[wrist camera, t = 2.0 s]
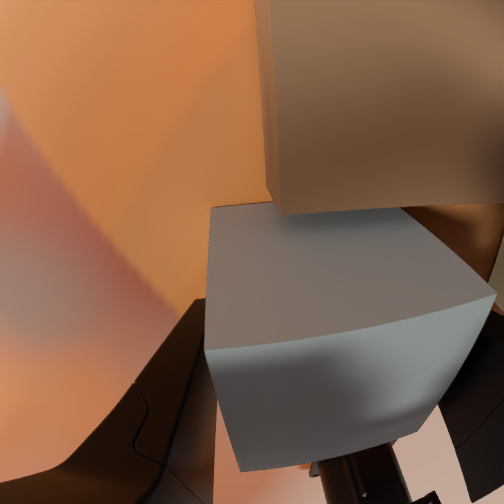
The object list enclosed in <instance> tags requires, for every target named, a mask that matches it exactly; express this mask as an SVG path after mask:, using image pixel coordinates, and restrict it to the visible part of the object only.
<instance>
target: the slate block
mask: <svg viewBox="0 0 504 504" xmlns="http://www.w3.org/2000/svg"><path fill="white" fill-rule="evenodd" d="M496 296H497V292H496V291H495V290H494V289H493V288H492V287H491V286H490V285H489V284H488V283H486V282H485V281H484V280H483V279H482V278H481V277H480V276H479V275H478V274H477V273H476V272H475V271H474V270H473V269H472V268H471V267H470V266H469V265H468V264H466V263H465V262H464V261H463V260H462V259H461V258H460V257H459V256H458V255H457V254H455V253H454V252H453V251H452V250H451V249H450V248H449V247H447V246H446V245H445V244H444V243H443V242H442V241H440V240H439V239H438V238H437V237H436V236H434V235H433V234H432V233H431V232H430V231H428V230H427V229H426V228H425V227H424V226H422V225H421V224H420V223H419V222H417V221H416V220H415V219H414V218H412V217H411V216H410V215H408V214H407V213H406V212H405V211H403V210H402V209H401V208H399V207H392V208H375V209H360V210H346V211H332V212H319V213H307V214H295V215H284V216H281V215H280V213H279V211H278V209H277V207H276V205H275V203H274V202H267V203H256V204H245V205H235V206H225V207H216V208H211V215H210V230H209V246H208V264H207V284H206V308H205V340H204V351H205V355H206V359H207V363H208V367H209V370H210V374H211V378H212V381H213V385H214V388H215V392H216V395H217V399H218V402H219V406H220V409H221V413H222V416H223V419H224V422H225V426H226V429H227V432H228V435H229V438H230V442H231V445H232V448H233V451H234V454H235V457H236V460H237V463H238V466H239V469H240V472H247V471H258V470H266V469H274V468H281V467H287V466H294V465H300V464H305V463H310V462H315V461H320V460H325V459H329V458H334V457H338V456H342V455H346V454H350V453H353V452H357V451H361V450H364V449H368V448H371V447H374V446H377V445H381V444H384V443H387V442H390V441H393V440H395V439H398V438H401V437H404V436H407V435H409V434H412V433H414V432H417V431H418V430H419V429H420V427H421V426H422V424H423V423H424V422H425V421H426V419H427V418H428V416H429V415H430V414H431V412H432V411H433V409H434V408H435V407H436V405H437V404H438V403H439V401H440V400H441V398H442V397H443V395H444V394H445V392H446V391H447V389H448V388H449V386H450V384H451V383H452V381H453V380H454V378H455V376H456V375H457V373H458V371H459V370H460V368H461V366H462V365H463V363H464V361H465V359H466V358H467V356H468V354H469V352H470V350H471V349H472V347H473V345H474V343H475V341H476V339H477V337H478V335H479V333H480V331H481V329H482V327H483V325H484V323H485V321H486V319H487V316H488V314H489V312H490V310H491V308H492V305H493V303H494V301H495V298H496Z"/></svg>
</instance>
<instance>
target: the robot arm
mask: <svg viewBox="0 0 504 504" xmlns="http://www.w3.org/2000/svg"><path fill="white" fill-rule="evenodd" d="M205 308H206V298H201V299H196V300H194V302H193V303H192V304H191V306H190V307H189V308H188V310H187V311H186V312H185V314H184V315H183V316H182V318H181V319H180V320H179V322H178V323H177V324H176V326H175V327H174V328H173V330H172V331H171V332H170V334H169V335H168V336H167V338H166V339H165V341H164V342H163V343H162V344H161V346H160V347H159V348H158V350H157V351H156V352H155V354H154V355H153V357H152V358H151V359H150V361H149V362H148V363H147V365H146V366H145V367H144V369H143V370H142V372H141V373H140V374H139V376H138V377H137V378H136V380H135V383H133V384H132V385H131V386H130V388H129V389H128V390H127V392H126V393H125V394H124V396H123V397H122V398H121V400H120V401H119V402H118V403H117V405H116V406H115V407H114V409H113V410H112V411H111V412H110V413H109V414H108V415H107V417H106V418H105V419H104V420H103V421H102V422H101V423H100V424H99V426H98V427H97V428H96V429H95V430H94V431H93V432H92V433H91V434H90V435H89V436H88V437H87V438H86V440H85V441H84V442H83V443H82V444H81V445H80V446H79V447H78V448H77V449H76V450H75V452H73V454H72V455H71V456H70V457H69V458H67V459H66V460H65V461H64V462H63V463H61V464H59V465H58V466H56V467H54V468H52V469H50V470H46V471H43V472H40V473H36V474H33V475H29V476H25V477H22V478H18V479H14V480H10V481H5V482H1V483H0V504H213V484H214V457H215V433H216V413H217V395H216V392H215V388H214V385H213V381H212V378H211V374H210V370H209V367H208V363H207V359H206V355H205V351H204V340H205ZM438 406H439V408H440V411H441V413H442V416H443V418H444V421H445V424H446V426H447V429H448V432H449V434H450V437H451V440H452V443H453V445H454V448H455V452H456V455H457V457H458V460H459V464H460V467H461V470H462V473H463V476H464V479H465V483H466V486H467V490H468V493H469V497H470V500H471V502H472V503H474V502H476V501H477V500H479V499H481V498H483V497H484V496H486V495H488V494H490V493H491V492H493V491H494V490H496V489H498V488H499V487H501V486H502V485H504V316H503V315H500V314H499V313H497V312H495V311H493V310H490V312H489V314H488V316H487V319H486V321H485V323H484V325H483V327H482V329H481V331H480V333H479V335H478V337H477V339H476V341H475V343H474V345H473V347H472V349H471V350H470V352H469V354H468V356H467V358H466V359H465V361H464V363H463V365H462V366H461V368H460V370H459V371H458V373H457V375H456V376H455V378H454V380H453V381H452V383H451V384H450V386H449V388H448V389H447V391H446V392H445V394H444V395H443V397H442V398H441V400H440V401H439V403H438ZM396 441H397V439H395V440H393V441H390V442H387V443H384V444H381V445H377V446H374V447H371V448H368V449H364V450H361V451H357V452H353V453H350V454H346V455H342V456H338V457H334V458H329V459H325V460H320V461H315V462H312V464H311V467H310V470H309V476H310V477H318V476H320V477H321V481H322V485H323V489H324V494H325V498H326V502H327V504H441V502H440V500H439V498H438V496H437V494H436V492H435V491H432V492H430V493H428V494H427V495H425V496H424V497H423V498H420V499H418V500H416V501H414V502H412V499H411V496H410V494H409V491H408V488H407V485H406V482H405V480H404V477H403V475H402V472H401V469H400V466H399V463H398V461H397V458H396V456H395V453H394V451H393V448H392V446H393V445H394V443H395V442H396Z"/></svg>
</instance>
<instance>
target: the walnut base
mask: <svg viewBox="0 0 504 504" xmlns="http://www.w3.org/2000/svg"><path fill="white" fill-rule="evenodd" d="M254 1H255V13H256V26H257V39H258V53H259V67H260V82H261V97H262V113H263V130H264V148H265V166H266V185H267V188H268V190H269V192H270V194H271V197H272V199H273V201H274V203H275V205H276V207H277V209H278V211H279V213H280V215H281V216H284V215H295V214H307V213H319V212H332V211H346V210H360V209H375V208H392V207H410V206H431V205H455V204H487V203H504V0H254Z"/></svg>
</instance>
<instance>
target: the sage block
mask: <svg viewBox="0 0 504 504" xmlns="http://www.w3.org/2000/svg"><path fill="white" fill-rule="evenodd" d="M488 284H489V285H490V286H491V287H492V288H493V289H494V290H495V291H496V292H497V296H496V298H495V301H494V303H495V304H496V305H497V306H498V307H499V308H500V309H501V310H502V311H503V312H504V235H503V239H502V243H501V246H500V249H499V252H498V256H497V259H496V262H495V265H494V268H493V271H492V274H491V276H490V279H489V282H488Z"/></svg>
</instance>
